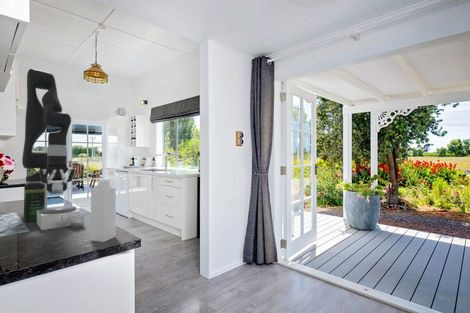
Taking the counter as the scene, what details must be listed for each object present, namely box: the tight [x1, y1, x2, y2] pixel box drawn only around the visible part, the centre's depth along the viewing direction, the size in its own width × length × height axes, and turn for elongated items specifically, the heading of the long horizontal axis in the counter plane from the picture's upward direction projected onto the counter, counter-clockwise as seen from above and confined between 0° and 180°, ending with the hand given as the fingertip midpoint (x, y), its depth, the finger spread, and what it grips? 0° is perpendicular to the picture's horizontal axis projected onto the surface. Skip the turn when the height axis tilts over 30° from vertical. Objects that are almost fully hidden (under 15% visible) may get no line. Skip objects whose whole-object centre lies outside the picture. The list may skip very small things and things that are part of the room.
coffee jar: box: [23, 181, 45, 223], centre depth 124 cm, size 10×8×19 cm
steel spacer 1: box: [49, 181, 65, 194], centre depth 120 cm, size 5×5×5 cm
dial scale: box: [36, 205, 81, 231], centre depth 118 cm, size 14×14×7 cm
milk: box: [90, 179, 117, 243], centre depth 97 cm, size 6×6×22 cm
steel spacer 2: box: [70, 213, 85, 230], centre depth 113 cm, size 5×5×5 cm
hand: (57, 191), depth 120 cm, fingers closed on steel spacer 1, 5 cm apart
